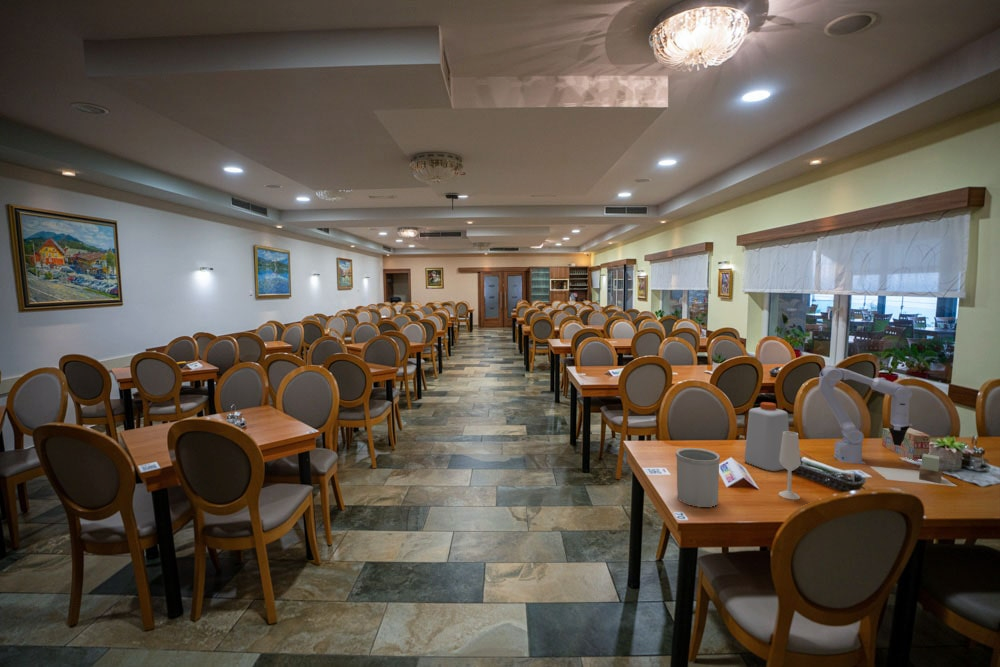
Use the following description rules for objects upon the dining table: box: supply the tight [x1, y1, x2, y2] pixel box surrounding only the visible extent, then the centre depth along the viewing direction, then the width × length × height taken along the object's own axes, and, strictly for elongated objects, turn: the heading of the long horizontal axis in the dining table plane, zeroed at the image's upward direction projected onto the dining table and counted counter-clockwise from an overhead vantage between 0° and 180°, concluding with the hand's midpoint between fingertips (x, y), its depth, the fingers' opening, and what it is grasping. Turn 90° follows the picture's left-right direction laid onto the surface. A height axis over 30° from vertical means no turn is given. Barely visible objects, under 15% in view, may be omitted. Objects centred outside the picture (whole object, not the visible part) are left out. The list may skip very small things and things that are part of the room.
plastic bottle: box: [744, 401, 790, 472], centre depth 192 cm, size 15×15×28 cm
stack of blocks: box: [881, 427, 931, 461], centre depth 204 cm, size 21×6×12 cm, turn 168°
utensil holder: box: [675, 447, 721, 508], centre depth 159 cm, size 15×15×18 cm
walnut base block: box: [918, 464, 943, 485], centre depth 173 cm, size 6×6×4 cm
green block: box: [921, 453, 940, 471], centre depth 172 cm, size 5×5×5 cm
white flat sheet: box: [869, 466, 958, 487], centre depth 177 cm, size 22×15×1 cm
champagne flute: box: [778, 430, 802, 500], centre depth 161 cm, size 7×7×24 cm
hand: (898, 443), depth 188 cm, fingers open, 7 cm apart
